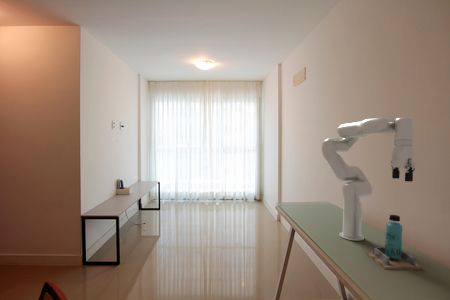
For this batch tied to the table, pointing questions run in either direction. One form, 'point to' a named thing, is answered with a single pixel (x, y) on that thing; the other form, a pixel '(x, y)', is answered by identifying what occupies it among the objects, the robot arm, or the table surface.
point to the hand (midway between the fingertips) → (401, 179)
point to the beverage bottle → (393, 238)
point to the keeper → (394, 260)
